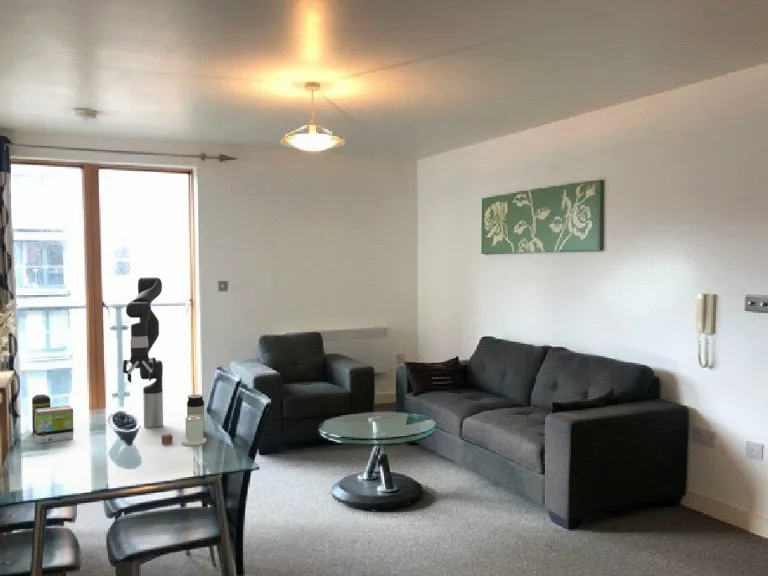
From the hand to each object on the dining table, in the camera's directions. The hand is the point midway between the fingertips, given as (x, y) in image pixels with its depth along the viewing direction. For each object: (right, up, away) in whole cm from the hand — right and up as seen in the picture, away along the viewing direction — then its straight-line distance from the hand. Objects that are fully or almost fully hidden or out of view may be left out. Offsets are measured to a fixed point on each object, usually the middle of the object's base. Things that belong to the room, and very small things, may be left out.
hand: (140, 381), depth 299 cm
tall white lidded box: (+23, -28, +10) cm, 37 cm away
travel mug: (+20, -28, +18) cm, 39 cm away
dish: (+25, -28, -1) cm, 37 cm away
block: (+13, -28, -2) cm, 31 cm away
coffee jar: (-55, -28, +20) cm, 65 cm away
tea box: (-43, -29, +7) cm, 52 cm away
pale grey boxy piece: (+25, -27, -1) cm, 37 cm away
